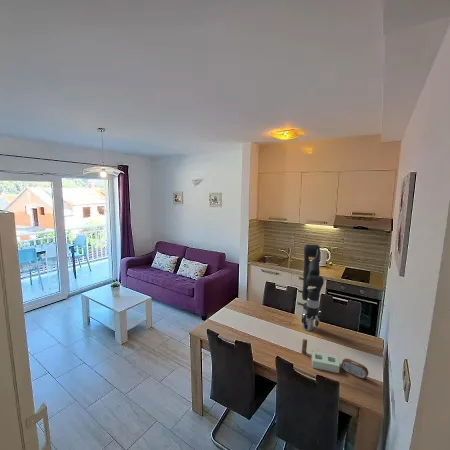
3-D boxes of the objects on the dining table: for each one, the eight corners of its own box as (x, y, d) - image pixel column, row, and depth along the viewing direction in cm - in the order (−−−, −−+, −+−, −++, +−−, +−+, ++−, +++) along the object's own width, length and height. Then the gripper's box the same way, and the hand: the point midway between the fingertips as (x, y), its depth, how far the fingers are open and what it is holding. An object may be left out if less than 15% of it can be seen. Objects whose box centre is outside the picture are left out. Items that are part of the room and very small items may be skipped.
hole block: (311, 357, 172) (312, 350, 171) (336, 362, 168) (337, 355, 167) (312, 367, 163) (312, 360, 162) (338, 373, 158) (339, 366, 157)
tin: (367, 378, 154) (369, 366, 152) (366, 382, 152) (368, 369, 150) (341, 367, 163) (343, 355, 162) (340, 369, 161) (341, 358, 160)
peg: (301, 351, 178) (302, 338, 177) (306, 352, 177) (307, 339, 176) (301, 354, 175) (302, 341, 174) (306, 354, 175) (307, 342, 173)
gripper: (317, 300, 168) (316, 322, 171) (300, 304, 164) (298, 326, 167) (325, 305, 162) (323, 328, 165) (307, 309, 157) (305, 332, 160)
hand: (311, 327), depth 166 cm, fingers open, 8 cm apart
